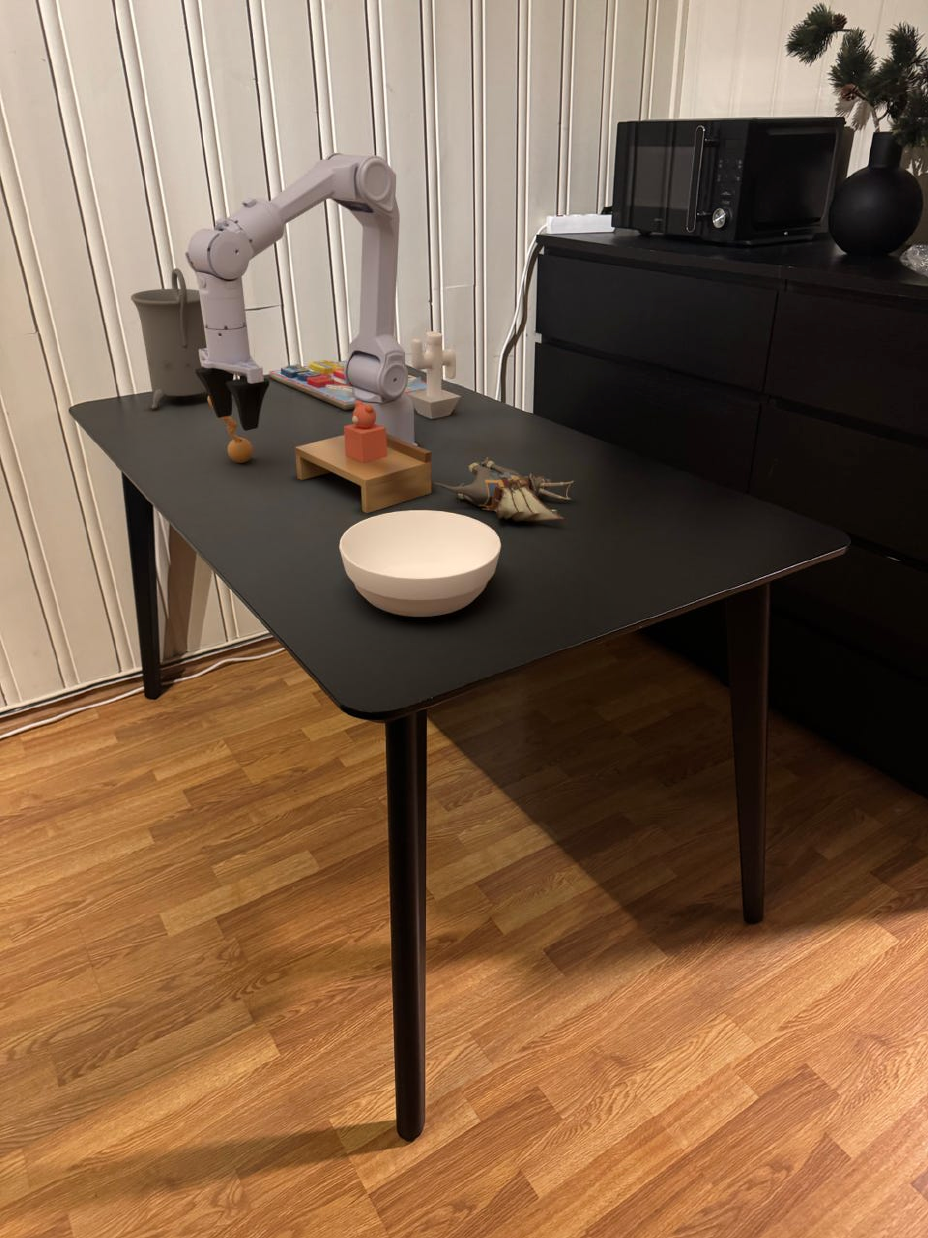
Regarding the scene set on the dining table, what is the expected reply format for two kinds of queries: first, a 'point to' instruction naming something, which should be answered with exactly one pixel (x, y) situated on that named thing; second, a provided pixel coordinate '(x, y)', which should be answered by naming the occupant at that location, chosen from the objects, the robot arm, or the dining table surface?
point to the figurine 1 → (236, 442)
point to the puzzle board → (330, 382)
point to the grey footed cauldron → (172, 338)
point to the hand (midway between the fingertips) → (237, 422)
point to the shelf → (371, 470)
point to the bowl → (420, 561)
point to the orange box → (365, 435)
